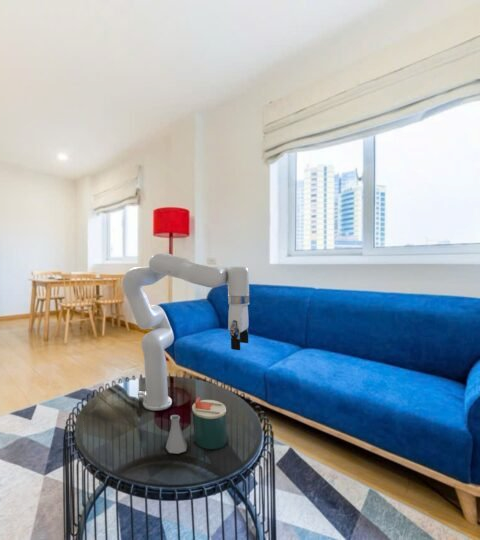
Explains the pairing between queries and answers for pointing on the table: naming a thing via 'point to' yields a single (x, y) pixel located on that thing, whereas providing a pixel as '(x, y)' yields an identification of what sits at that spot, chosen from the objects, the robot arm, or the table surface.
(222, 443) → the sliding lid canister
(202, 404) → the slider
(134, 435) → the table surface
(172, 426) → the flask
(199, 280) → the robot arm
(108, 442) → the table surface
